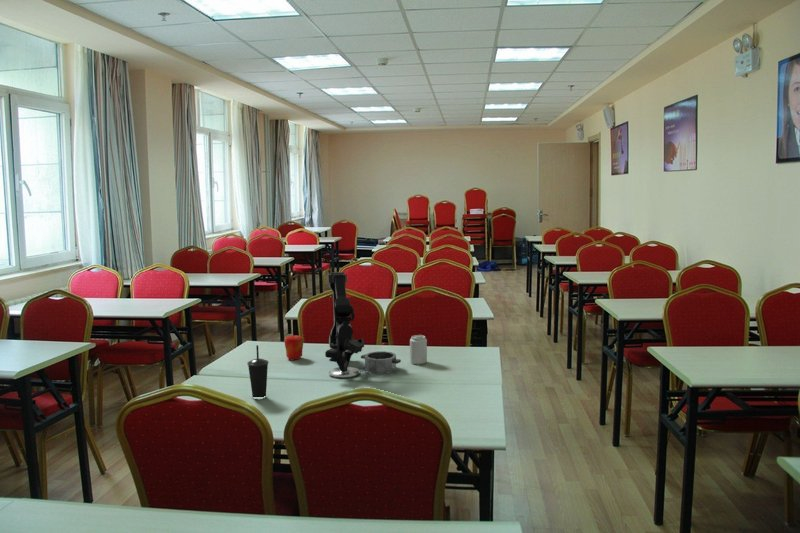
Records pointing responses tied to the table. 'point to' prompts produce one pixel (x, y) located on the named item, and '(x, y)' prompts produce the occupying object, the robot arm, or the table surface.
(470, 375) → the table surface
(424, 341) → the can
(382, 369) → the pot
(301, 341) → the red bell pepper
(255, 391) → the drinking cup
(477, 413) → the table surface
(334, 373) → the lid
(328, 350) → the robot arm
